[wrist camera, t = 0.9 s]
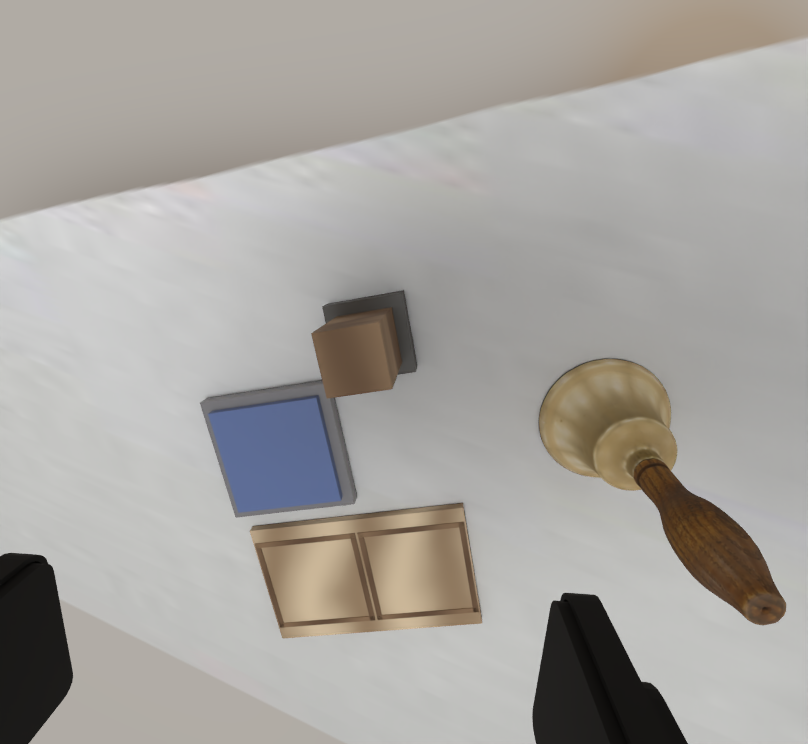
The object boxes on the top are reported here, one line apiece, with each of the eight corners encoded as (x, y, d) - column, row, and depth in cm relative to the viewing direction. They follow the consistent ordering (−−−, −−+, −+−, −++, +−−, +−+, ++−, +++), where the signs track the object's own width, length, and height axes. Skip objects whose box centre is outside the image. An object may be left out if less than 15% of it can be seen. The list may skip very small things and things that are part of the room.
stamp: (403, 290, 29) (391, 304, 22) (417, 365, 30) (409, 400, 23) (328, 303, 29) (293, 321, 23) (344, 376, 31) (315, 414, 24)
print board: (462, 503, 32) (463, 508, 32) (481, 617, 35) (482, 624, 34) (253, 526, 34) (249, 531, 34) (285, 632, 37) (282, 639, 36)
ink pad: (330, 379, 31) (324, 386, 29) (357, 496, 33) (352, 508, 31) (207, 397, 32) (195, 405, 30) (241, 509, 34) (232, 522, 33)
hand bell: (674, 464, 30) (909, 690, 15) (548, 484, 31) (647, 713, 16) (663, 346, 28) (923, 467, 13) (529, 372, 29) (621, 511, 14)
